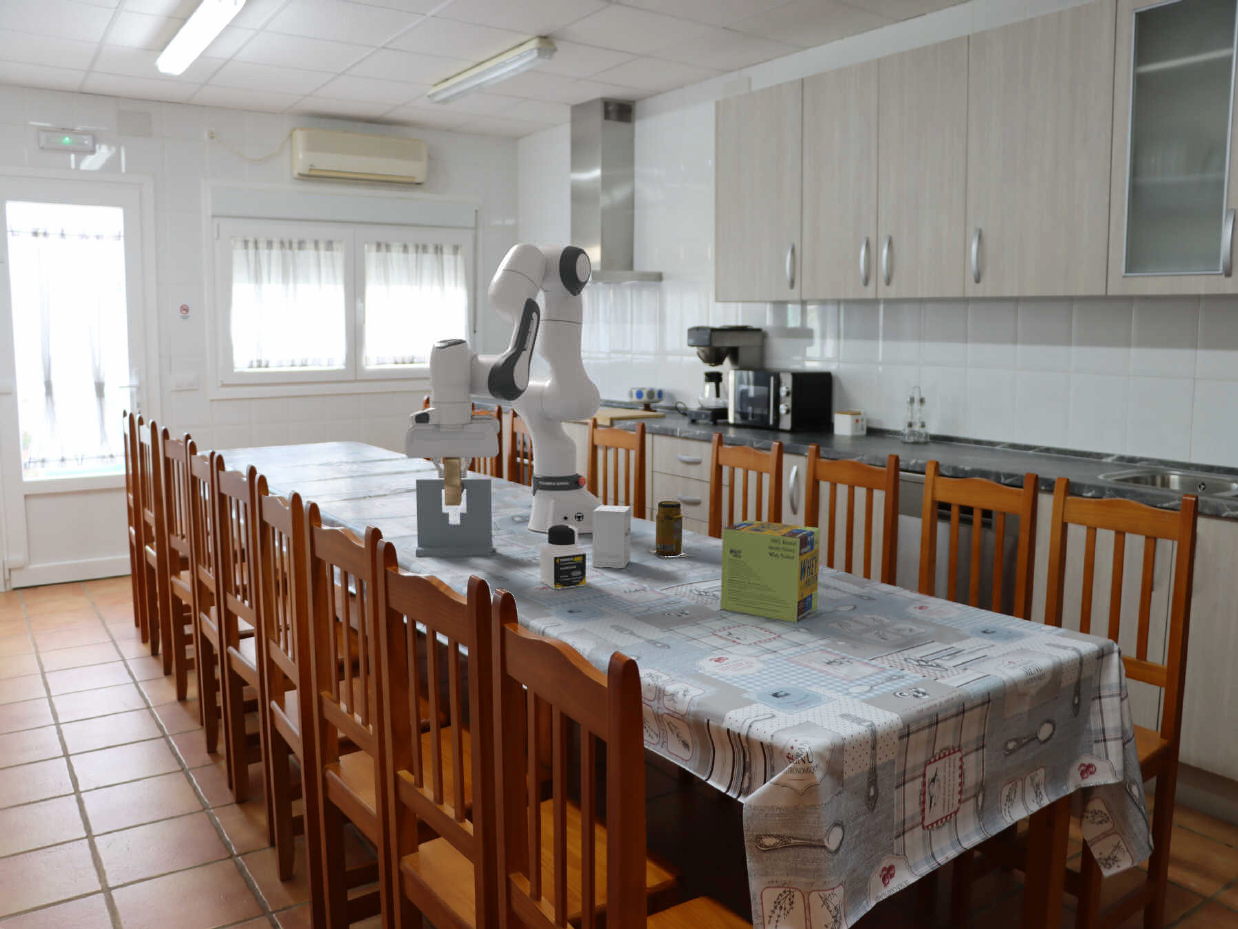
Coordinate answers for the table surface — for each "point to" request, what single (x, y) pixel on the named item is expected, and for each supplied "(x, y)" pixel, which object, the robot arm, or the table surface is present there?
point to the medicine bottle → (563, 558)
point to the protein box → (770, 569)
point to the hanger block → (453, 482)
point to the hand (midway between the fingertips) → (452, 477)
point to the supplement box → (611, 536)
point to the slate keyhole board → (454, 538)
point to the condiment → (668, 530)
